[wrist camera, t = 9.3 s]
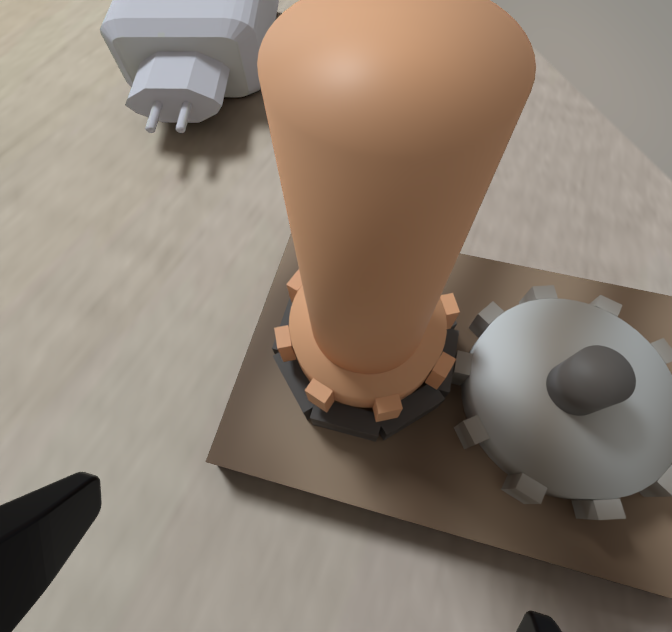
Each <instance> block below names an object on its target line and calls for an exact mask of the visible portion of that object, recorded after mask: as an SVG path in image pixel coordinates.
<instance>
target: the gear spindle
mask: <svg viewBox="0 0 672 632" xmlns="http://www.w3.org/2000/svg"><path fill="white" fill-rule="evenodd" d="M257 67H258V77H259V81H260V86H261V91H262V96H263V100H264V105H265V110H266V115H267V119H268V124H269V129H270V134H271V138H272V143H273V148H274V153H275V157H276V162H277V167H278V171H279V176H280V181H281V186H282V190H283V195H284V200H285V205H286V209H287V214H288V219H289V224H290V228H291V233H292V238H293V243H294V247H295V252H296V257H297V262H298V266H299V269H298V271H297V272H296V273H295V274H294V275H293V277H292V278H291V279H290V280H289V282H288V283H287V284H286V285H287V289H288V292H289V296H290V299H291V302H292V306H291V311H290V316H289V326H288V325H286V326H281V327H276V328H274V330H275V336H276V343H277V349H278V351H279V353H280V355H281V358H282V360H283V362H287V361H292V360H298V362H299V365H300V367H301V369H302V371H303V373H304V374H305V376H306V377H307V378H308V380H309V381H310V383H309V385H308V386H307V388H306V389H305V393H306V395H307V398H308V400H309V401H310V402H311V403H313V404H314V405H316V406H317V407H319V408H320V409H322V410H323V411H325V412H326V413H327V412H328V410H329V409H330V407H331V406H332V404H333V403H334V400H335V401H337V402H340V403H342V404H346V405H350V406H354V407H362V408H373V412H374V416H375V420H376V422H379V421H384V420H389V419H393V418H398V416H399V415H400V413H401V411H402V409H403V407H402V404H401V400H402V399H404V398H405V397H407V396H409V395H410V394H412V393H413V392H414V391H415V390H417V389H418V388H419V387H420V386H421V385H422V383H423V382H424V381H425V380H426V381H425V383H426V384H428V385H430V386H431V387H433V388H435V389H436V390H437V389H438V387H439V386H440V385H441V384H442V382H443V381H444V380H445V378H446V377H447V375H448V373H449V371H450V370H451V368H452V366H453V364H454V363H455V361H456V359H455V358H454V357H452V356H450V355H448V354H447V353H445V352H443V353H442V351H443V348H444V344H445V340H446V334H447V329H451V327H452V325H453V324H454V322H455V320H456V318H457V317H458V315H459V313H460V311H459V308H458V305H457V302H456V300H455V297H454V294H453V293H449V294H444V295H441V294H442V292H443V289H444V287H445V285H446V283H447V280H448V278H449V276H450V274H451V271H452V269H453V267H454V265H455V262H456V260H457V258H458V255H459V253H460V251H461V249H462V246H463V244H464V242H465V240H466V237H467V235H468V233H469V231H470V228H471V226H472V224H473V221H474V219H475V217H476V215H477V212H478V210H479V208H480V206H481V203H482V201H483V199H484V196H485V194H486V192H487V190H488V187H489V185H490V183H491V181H492V178H493V176H494V174H495V172H496V169H497V167H498V165H499V162H500V160H501V158H502V156H503V153H504V151H505V149H506V147H507V144H508V142H509V140H510V138H511V135H512V133H513V131H514V128H515V126H516V124H517V122H518V119H519V117H520V115H521V113H522V110H523V108H524V106H525V104H526V101H527V99H528V97H529V94H530V92H531V89H532V86H533V83H534V80H535V71H536V63H535V55H534V52H533V49H532V45H531V43H530V41H529V39H528V37H527V35H526V33H525V32H524V31H523V30H522V28H521V27H520V25H519V24H518V23H517V22H516V21H515V20H514V19H513V18H512V17H511V16H510V15H509V14H508V13H507V12H506V11H504V10H503V9H502V8H500V7H499V6H498V5H497V4H495V3H493V2H491V1H490V0H300V1H298V2H296V3H295V4H293V5H292V6H291V7H289V8H288V9H287V10H285V11H284V12H283V13H282V14H281V15H280V16H279V17H278V18H277V19H276V20H275V21H274V23H273V24H272V25H271V27H270V28H269V29H268V31H267V32H266V34H265V36H264V38H263V40H262V43H261V46H260V49H259V52H258V61H257ZM441 353H442V354H441ZM440 355H441V356H440ZM296 357H297V359H296ZM428 375H429V376H428ZM427 377H428V378H427ZM426 378H427V379H426Z"/></svg>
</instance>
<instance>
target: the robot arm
mask: <svg viewBox="0 0 672 632" xmlns="http://www.w3.org/2000/svg"><path fill="white" fill-rule="evenodd" d="M100 509H101V486H100V479H99V478H98V476H95V475H92V474H89V473H86V472H78V473H75V474H73V475H70V476H68V477H66V478H63V479H61V480H59V481H56V482H54V483H52V484H49V485H47V486H45V487H42V488H40V489H38V490H35V491H33V492H31V493H28V494H26V495H24V496H21V497H19V498H17V499H14V500H12V501H10V502H7V503H5V504H3V505H0V632H12V631H13V629H14V628H15V627H16V626H17V624H18V623H19V622H20V621H21V620H22V618H23V617H24V616H25V615H26V614H27V612H28V611H29V610H30V609H31V607H32V606H33V605H34V604H35V603H36V601H37V600H38V599H39V598H40V596H41V595H42V594H43V593H44V591H45V590H46V589H47V587H48V586H49V585H50V583H51V582H52V581H53V579H54V578H55V577H56V575H57V574H58V572H59V571H60V569H61V568H62V566H63V565H64V564H65V562H66V561H67V559H68V558H69V556H70V555H71V553H72V552H73V551H74V549H75V548H76V546H77V545H78V543H79V542H80V540H81V539H82V537H83V536H84V535H85V533H86V532H87V530H88V529H89V527H90V526H91V524H92V523H93V522H94V520H95V519H96V517H97V516H98V514H99V512H100ZM516 632H562V631H561V630H560V628H559V627H558V625H557V624H556V622H555V621H554V620H553V619H552V618H551V617H549V616H547V615H544V614H541V613H538V612H534V611H528V612H526V614H525V615H524V617H523V619H522V621H521V623H520V625H519V627H518V629H517V631H516Z"/></svg>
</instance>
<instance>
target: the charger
mask: <svg viewBox="0 0 672 632" xmlns="http://www.w3.org/2000/svg"><path fill="white" fill-rule="evenodd" d="M278 2H279V1H278V0H113V1H112V3H111V5H110V8H109V10H108V12H107V14H106V17H105V19H104V21H103V23H102V26H101V28H100V31H101V35H102V37H103V38H104V40H105V42H106V44H107V46H108V48H109V50H110V52H111V54H112V55H113V57H114V59H115V61H116V63H117V65H118V67H119V69H120V71H121V72H122V74H123V76H124V78H125V80H126V82H127V83H128V84H129V85H130V86H131V90H130V93H129V96H128V99H127V101H126V104H125V105H126V106H127V107H129V108H130V109H131V110H133V111H134V112H136V113H138V114H141V115H144V116H146V117H149V118H148V121H147V125H146V128H145V129H146V131H147V132H149V133H153V132H155V129H156V126H157V123H158V121H160V122H177V125H176V131H177V132H179V133H184V132H185V130H186V126H187V123H199V122H201V121H203V120H205V119H207V118H209V117H211V116H213V115H215V114H217V113H218V111H219V110H220V108H221V107H222V103H223V99H224V97H243V96H247V95H249V94H252V93H254V92H257V91H259V90H261V86H260V81H259V77H258V67H257V61H258V52H259V49H260V46H261V43H262V40H263V38H264V36H265V34H266V32H267V31H268V29H269V28H270V27H271V25H272V24H273V23H274V21H275V20H276V15H277V9H278Z"/></svg>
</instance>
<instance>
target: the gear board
mask: <svg viewBox="0 0 672 632" xmlns="http://www.w3.org/2000/svg"><path fill="white" fill-rule="evenodd" d="M298 269H299V266H298V262H297V257H296V252H295V247H294V243H293V238H292V233H291V235H290V238H289V240H288V243H287V246H286V248H285V251H284V254H283V256H282V259H281V262H280V264H279V267H278V270H277V272H276V275H275V278H274V280H273V283H272V286H271V288H270V291H269V294H268V296H267V299H266V302H265V304H264V307H263V310H262V312H261V315H260V318H259V320H258V323H257V326H256V328H255V331H254V334H253V336H252V339H251V342H250V344H249V347H248V350H247V353H246V355H245V358H244V361H243V363H242V366H241V369H240V371H239V374H238V377H237V379H236V382H235V385H234V387H233V390H232V393H231V395H230V398H229V401H228V403H227V406H226V409H225V411H224V414H223V417H222V419H221V422H220V425H219V427H218V430H217V433H216V435H215V438H214V441H213V443H212V446H211V449H210V451H209V454H208V457H207V459H206V462H207V463H211V464H214V465H218V466H221V467H224V468H228V469H231V470H235V471H238V472H242V473H245V474H248V475H252V476H255V477H259V478H262V479H265V480H269V481H272V482H276V483H279V484H282V485H286V486H289V487H293V488H296V489H299V490H303V491H306V492H310V493H313V494H317V495H320V496H323V497H327V498H330V499H334V500H337V501H340V502H344V503H347V504H351V505H354V506H357V507H361V508H364V509H368V510H371V511H375V512H378V513H381V514H385V515H388V516H392V517H395V518H398V519H402V520H405V521H409V522H412V523H415V524H419V525H422V526H426V527H429V528H432V529H436V530H439V531H443V532H446V533H450V534H453V535H456V536H460V537H463V538H467V539H470V540H473V541H477V542H480V543H484V544H487V545H490V546H494V547H497V548H501V549H504V550H508V551H511V552H514V553H518V554H521V555H525V556H528V557H531V558H535V559H538V560H542V561H545V562H548V563H552V564H555V565H559V566H562V567H565V568H569V569H572V570H576V571H579V572H583V573H586V574H589V575H593V576H596V577H600V578H603V579H606V580H610V581H613V582H617V583H620V584H623V585H627V586H630V587H634V588H637V589H641V590H644V591H647V592H651V593H654V594H658V595H661V596H664V597H668V598H671V599H672V296H668V295H663V294H658V293H653V292H648V291H643V290H638V289H633V288H628V287H623V286H618V285H613V284H608V283H603V282H598V281H593V280H589V279H584V278H579V277H574V276H569V275H564V274H559V273H554V272H549V271H544V270H539V269H534V268H529V267H524V266H519V265H514V264H509V263H504V262H499V261H494V260H490V259H485V258H480V257H475V256H470V255H465V254H460V253H459V255H458V258H457V260H456V262H455V265H454V267H453V269H452V271H451V274H450V276H449V278H448V280H447V283H446V285H445V287H444V289H443V292H442V294H441V295H444V294H449V293H453V294H454V297H455V300H456V302H457V305H458V308H459V311H460V313H459V315H458V317H457V318H456V320H455V322H454V324H453V325H452V327H451V329H447V334H446V340H445V344H444V348H443V351H442V353H443V352H445V353H447V354H448V355H450V356H452V357H454V358H455V359H456V361H455V363H454V364H453V366H452V368H451V370H450V371H449V373H448V375H447V377H446V378H445V380H444V381H443V382H442V384H441V385H440V386H439V387H438V389H437V390H436V389H435V388H433V387H431V386H430V385H428V384H426V383H425V381H426V380H425V381H424V382H423V383H422V385H421V386H420V387H419V388H418V389H417V390H415V391H414V392H413V393H412V394H410V395H409V396H407V397H405V398H404V399H402V400H401V404H402V407H403V409H402V411H401V413H400V415H399V416H398V418H393V419H389V420H384V421H379V422H376V420H375V416H374V412H373V408H362V407H354V406H350V405H346V404H342V403H340V402H337V401H335V400H334V403H333V404H332V406H331V407H330V409H329V410H328V412H327V413H326V412H325V411H323V410H322V409H320V408H319V407H317V406H316V405H314V404H313V403H311V402H310V401H309V400H308V398H307V395H306V393H305V389H306V388H307V386H308V385H309V383H310V381H309V380H308V378H307V377H306V376H305V374H304V373H303V371H302V369H301V367H300V365H299V362H298V360H292V361H287V362H283V360H282V358H281V355H280V353H279V351H278V349H277V343H276V336H275V330H274V328H276V327H281V326H286V325H288V326H289V316H290V311H291V306H292V302H291V299H290V296H289V292H288V289H287V285H286V284H287V283H288V282H289V280H290V279H291V278H292V277H293V275H294V274H295V273H296V272H297V271H298ZM442 353H441V354H442ZM440 356H441V355H440ZM296 359H297V357H296ZM428 376H429V375H428ZM427 378H428V377H427ZM427 378H426V379H427Z"/></svg>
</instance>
